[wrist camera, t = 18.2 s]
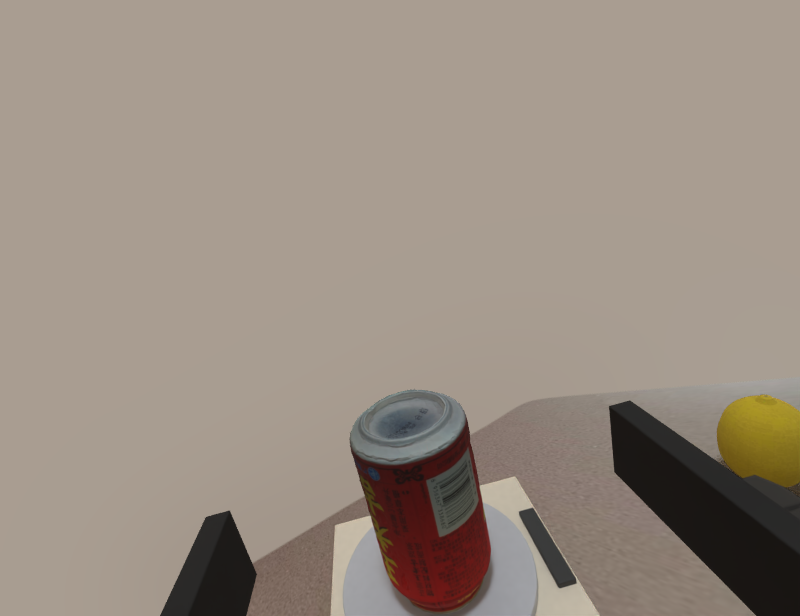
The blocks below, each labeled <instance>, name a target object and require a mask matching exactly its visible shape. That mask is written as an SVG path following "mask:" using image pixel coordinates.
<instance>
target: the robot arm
mask: <svg viewBox="0 0 800 616" xmlns="http://www.w3.org/2000/svg"><path fill="white" fill-rule="evenodd" d="M609 410H610V423H611V435H612V448H613V460H614V472H615V473H616V474H617V475H618V476H619V477H620V478H621V479H622V480H623V481H624V482H625V483H626V484H627V485H628V486H629V487H630V488H631V489H632V490H633V491H634V492H635V493H636V494H637V495H638V496H639V497H640V498H641V499H642V500H643V501H644V502H645V503H646V505H647V506H648V507H649V508H650V509H651V510H652V511H653V512H654V513H655V514H656V515H657V516H658V517H659V518H660V519H661V520H662V521H663V522H664V523H665V524H666V525H667V526H668V527H669V528H670V529H671V530H672V531H673V532H674V533H675V534H676V535H677V536H678V537H679V538H680V539H681V540H682V541H683V542H684V543H685V544H686V545H687V546H688V547H689V548H690V549H691V550H692V551H693V552H694V553H695V554H696V555H697V556H698V557H699V558H700V559H701V560H702V561H703V562H704V563H705V564H706V565H707V566H708V567H709V568H710V569H711V570H712V571H713V572H714V573H715V574H716V575H717V576H718V577H719V578H720V579H721V580H722V581H723V582H724V583H725V584H726V585H727V586H728V587H729V588H730V589H731V590H732V591H733V592H734V593H735V594H736V596H737V597H738V598H739V599H740V600H741V601H742V602H743V603H744V604H745V605H746V606H747V607H748V608H749V609H750V610H751V611H752V612H753V613H754V614H755V615H756V616H800V497H799V496H797V495H796V494H794V493H793V492H791V491H789V490H788V489H786V488H785V487H783V486H781V485H779V484H776V483H774V482H772V481H769V480H767V479H764V478H762V477H759V476H757V475H752V476H749V477H745V478H742V479H741V478H740V477H739V476H737V475H736V474H734V473H733V472H731V471H730V470H729V469H727V468H726V467H724V466H723V465H721V464H720V463H719V462H717V461H716V460H714V459H713V458H711V457H710V456H708V455H707V454H706V453H704V452H703V451H701V450H700V449H698V448H697V447H696V446H694V445H693V444H691V443H690V442H688V441H687V440H686V439H684V438H683V437H681V436H680V435H678V434H677V433H676V432H674V431H673V430H671V429H670V428H668V427H667V426H666V425H664V424H663V423H661V422H660V421H658V420H657V419H656V418H654V417H653V416H651V415H650V414H648V413H647V412H646V411H644V410H643V409H641V408H640V407H638V406H637V405H636V404H634V403H633V402H631V401H627V402H623V403H619V404H616V405H612V406H609ZM256 575H257V574H256V571H255V569H254V567H253V564H252V562H251V560H250V557H249V555H248V553H247V550H246V548H245V545H244V543H243V541H242V538H241V536H240V534H239V531H238V529H237V527H236V524H235V522H234V520H233V517H232V515H231V513H230V511H226V512H223V513H219V514H215V515H212V516H208V517H206V518H205V520H204V522H203V525H202V527H201V529H200V531H199V533H198V535H197V538H196V540H195V542H194V544H193V546H192V548H191V551H190V553H189V555H188V557H187V559H186V561H185V564H184V566H183V568H182V570H181V572H180V575H179V576H178V579H177V581H176V583H175V585H174V587H173V589H172V591H171V594H170V596H169V598H168V600H167V602H166V604H165V607H164V609H163V611H162V613H161V615H160V616H246V615H247V611H248V607H249V603H250V599H251V595H252V591H253V587H254V583H255V579H256Z"/></svg>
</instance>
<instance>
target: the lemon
mask: <svg viewBox="0 0 800 616" xmlns="http://www.w3.org/2000/svg"><path fill="white" fill-rule="evenodd" d="M717 441H718V447H719V451H720V454H721V456H722V458H723V459H724V461H725V462H726V464H727V465H728V466H729V467H730V468H731V469H732V470H733V471H734V472H735V473H736V474H737V475H739V476H740V477H742V478H745V477H749V476H752V475H757V476H759V477H762V478H764V479H767V480H769V481H772V482H774V483H776V484H779V485H781V486H783V487H785V488H786V487H790V486H793V485H796V484H798V483H799V482H800V412H799V411H798V410H797V409H795V408H794V407H793V406H791V405H790V404H788V403H786V402H784V401H781V400H779V399H776V398H772V397H771V396H769V395H760V396H749V397H744V398H741V399H738V400H736V401H734V402H733V403H731V404H730V405H729V406H728V407H727V408H726V409H725V410H724V412H723V414H722V416H721V418H720V421H719V424H718V428H717Z"/></svg>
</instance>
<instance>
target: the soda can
mask: <svg viewBox="0 0 800 616" xmlns="http://www.w3.org/2000/svg"><path fill="white" fill-rule="evenodd" d="M350 447H351V452H352V455H353V458H354V461H355V465H356V468H357V471H358V474H359V478H360V482H361V485H362V488H363V491H364V494H365V498H366V501H367V505H368V510H369V512H370V515H371V520H372V523H373V527H374V530H375V533H376V538H377V541H378V544H379V548H380V551H381V555H382V559H383V563H384V566H385V569H386V572H387V574H388V576H389V578H390V581H391V582H392V584H393V586H394V587H395V588H396V589H397V590H398V591H399V592H400V593H401V594H402V595H404V596H405V597H406V598H408V599H409V601H410V602H411V603H412V605H413V606H415V607H417V608H418V609H420V610H422V611H423V612H426V613H430V614H441V615H442V614H449V613H453V612H457V611H459V610H461V609H463V608H464V607H465V606H467V605H468V604H469V603H470V602H471V601H472V600H473V599H474V598H475V597H476V596H477V594H478V593H479V591H480V589H481V586H482V584H483V580H484V576H485V574H486V573H487V571H488V567H489V563H490V556H491V545H490V539H489V533H488V528H487V522H486V517H485V512H484V507H483V502H482V496H481V491H480V486H479V481H478V475H477V469H476V465H475V460H474V454H473V450H472V447H471V444H470V432H469V427H468V422H467V418H466V415H465V412H464V410H463V408H462V407H461V405H460V404H459V403H458V402H457V401H456V400H454V399H453V398H451V397H449V396H447V395H444V394H440V393H435V392H431V391H425V390H407V391H403V392H398V393H396V394H393V395H389V396H387V397H385V398H384V399H381V400H379V401H378V402H377V403H375V404H374V405H373V406H371V407H370V408H369V409H367V410H366V411H365V412H364V413H363V414H362V415H361V416H360V417H359V418H358V419H357V420H356V422H355V424H354V425H353V428H352V431H351V433H350Z"/></svg>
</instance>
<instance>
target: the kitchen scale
mask: <svg viewBox="0 0 800 616" xmlns="http://www.w3.org/2000/svg"><path fill="white" fill-rule="evenodd" d="M480 491H481V496H482V502H483V507H484V512H485V517H486V522H487V528H488V533H489V539H490V545H491V556H490V563H489V567H488V571H487V573H486V574H485V576H484V580H483V584H482V586H481V589H480V591H479V593H478V594H477V596H476V597H475V598H474V599H473V600H472V601H471V602H470V603H469V604H468V605H467V606H465V607H464V608H463V609H461V610H459V611H457V612H453V613H449V614H442V615H441V614H430V613H426V612H423V611H422V610H420V609H418V608H417V607H415V606H413V605H412V603H411V602H410V601H409V599H408V598H406V597H405V596H404V595H402V594H401V593H400V592H399V591H398V590H397V589H396V588H395V587H394V586H393V584H392V582H391V581H390V578H389V576H388V574H387V572H386V569H385V566H384V563H383V559H382V555H381V551H380V548H379V544H378V541H377V538H376V533H375V530H374V527H373V523H372V520H371V516H367V517H364V518H360V519H356V520H353V521H349V522H345V523H342V524H338V525H335V537H334V557H333V577H332V597H331V616H600V615H599V613H598V612H597V610H596V608H595V607H594V605H593V603H592V602H591V600H590V598H589V597H588V595H587V593H586V592H585V590H584V589H583V587H582V585H581V584H580V582H579V580H578V579H577V577H576V575H575V574H574V572H573V570H572V569H571V567H570V566H569V564H568V562H567V561H566V559H565V557H564V556H563V554H562V552H561V551H560V549H559V547H558V546H557V544H556V543H555V541H554V539H553V538H552V536H551V534H550V533H549V531H548V529H547V528H546V526H545V524H544V523H543V521H542V520H541V518H540V516H539V515H538V513H537V511H536V510H535V508H534V506H533V505H532V503H531V501H530V500H529V498H528V497H527V495H526V493H525V492H524V490H523V488H522V487H521V485H520V483H519V482H518V480H517V478H516V477H515V476H514V477H510V478H507V479H503V480H499V481H496V482H492V483H488V484H485V485H481V486H480Z"/></svg>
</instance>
